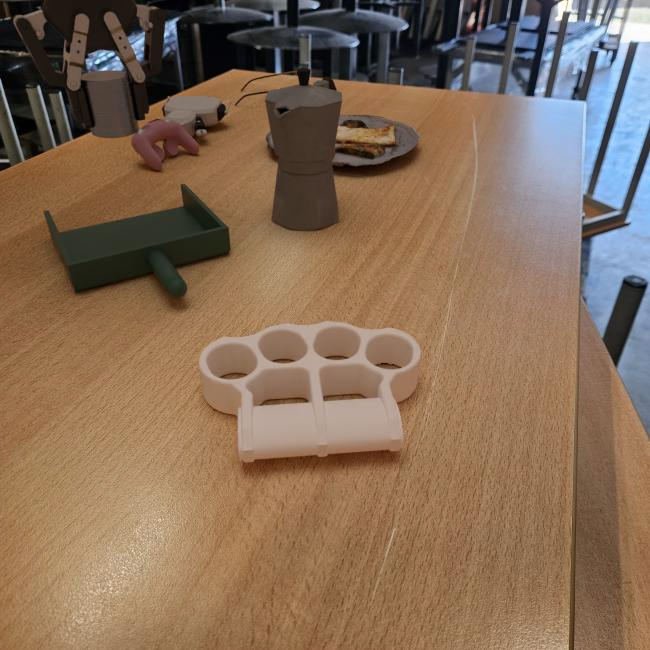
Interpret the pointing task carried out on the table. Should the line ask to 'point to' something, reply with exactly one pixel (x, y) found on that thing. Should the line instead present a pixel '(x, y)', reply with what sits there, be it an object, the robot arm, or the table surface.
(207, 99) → the robot toy
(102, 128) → the metal canister
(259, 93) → the sunglasses
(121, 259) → the scoop
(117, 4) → the robot arm
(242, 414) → the white brass knuckles
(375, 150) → the food plate
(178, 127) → the pink curved piece
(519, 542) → the table surface
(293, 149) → the coffeepot
